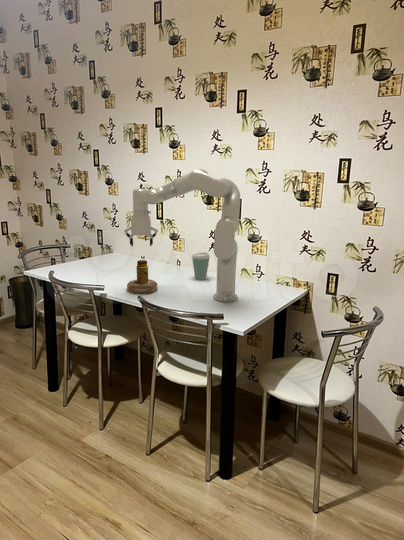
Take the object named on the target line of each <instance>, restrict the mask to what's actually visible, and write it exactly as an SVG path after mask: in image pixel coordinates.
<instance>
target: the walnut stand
mask: <svg viewBox="0 0 404 540" xmlns="http://www.w3.org/2000/svg"><path fill="white" fill-rule="evenodd" d="M132 281H137V279H133V280H130V281H129V282H128V283H126V288H127V289H126V291H127V293H129V292H130V293H129V294H131V293H133V294H132V295H136V294H146V295H151V293H152V294H155V293H156V292H157V291H158V283H157V282H156V281H155V280H153V279H149V278H148V282H150V284H143V285H137V286H136V285H135V284H133V283H132Z"/></svg>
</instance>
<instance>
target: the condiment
mask: <svg viewBox="0 0 404 540" xmlns="http://www.w3.org/2000/svg"><path fill="white" fill-rule="evenodd" d="M148 279H149V266H148V261H147V260H146V259H145V260H144V259H139V260H137V265H136V280H137V281H132V280H131V281H132V283H133V284H135V285H136V286H137V285H143V284H150V282H148Z"/></svg>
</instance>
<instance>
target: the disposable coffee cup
mask: <svg viewBox="0 0 404 540" xmlns="http://www.w3.org/2000/svg"><path fill="white" fill-rule="evenodd" d="M209 254H210V253H209V252H196V253H193V255H192V256H191V259H192V265H193V266H192V267H193V271H194V279H195V280H199V281H204V280H206V278H207V276H208V268H209V262H210V259H211V258H210V257H211V256H210V255H209Z"/></svg>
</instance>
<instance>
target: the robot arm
mask: <svg viewBox="0 0 404 540" xmlns="http://www.w3.org/2000/svg"><path fill="white" fill-rule="evenodd" d="M196 190H198V191H200V192H202V193H204V194H206V195H209V196H211V197H213V198H217V199H219V198H222V200H223V201H222V207H221V217H220V219H219V220H218V221H217V223H216V225H215V231H214V239H213V240H214V241H213V253H214V256H215V257H216V258H217V262H216V263H217V264H216V290H215V291H216V293H213V295H212V296H213V299H214V300H216V301H218V302H224V303H225V302H226V303H228V302H229V303H230V302H234V301H237V300H238V298H239V296H238V294H236V280H237V279H236V278H237V276H236V273H237V257H238V256H237V255H238V243H237V241H236V240H235V236H236V233H237V232H238V230H239V223H240V213H241V212H240V209H241V192H240V189H239V188H238V186H237V184H236V183H235V182H233V181H232V180H230V179H228V178H225V177H221V178H217V177H215V176H212V175H211V174H209V173H208V171H207V170H205V169H202V168H198V169H194V170H192V171H190V172H189V173H187V174H184V175H182V176H179V177H176V178H174V179H173V180H172V181H170V182H169V183H167V184H164V185H162V186H159V187H155V188H150V189H146V188H134V189H133V190H132V216H131V222H130V226H129V227H127V228H125V229H124V231H123V232H124V234H125V235H126V237H128V238H129V245H130V246H131V247H133V246H134V236H148V237H149V246H150V247H152V245H153V244H154V238H155V237H156V236H157V234H158V232H159V229H157V228H156V227H155V228H154V227H153V226H152V222H151V216H150V214H151V213H152V211H151V210H149V205H156V204H157V205H158V204H159V203H163V202H166V201H169V200H170V199H174V198H176V197H179V196H183V195H185V194H188V193H190V192H194V191H196ZM129 231H130V233H131V234H130V233H129ZM152 231H153V232H154V233H153V234H152Z"/></svg>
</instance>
